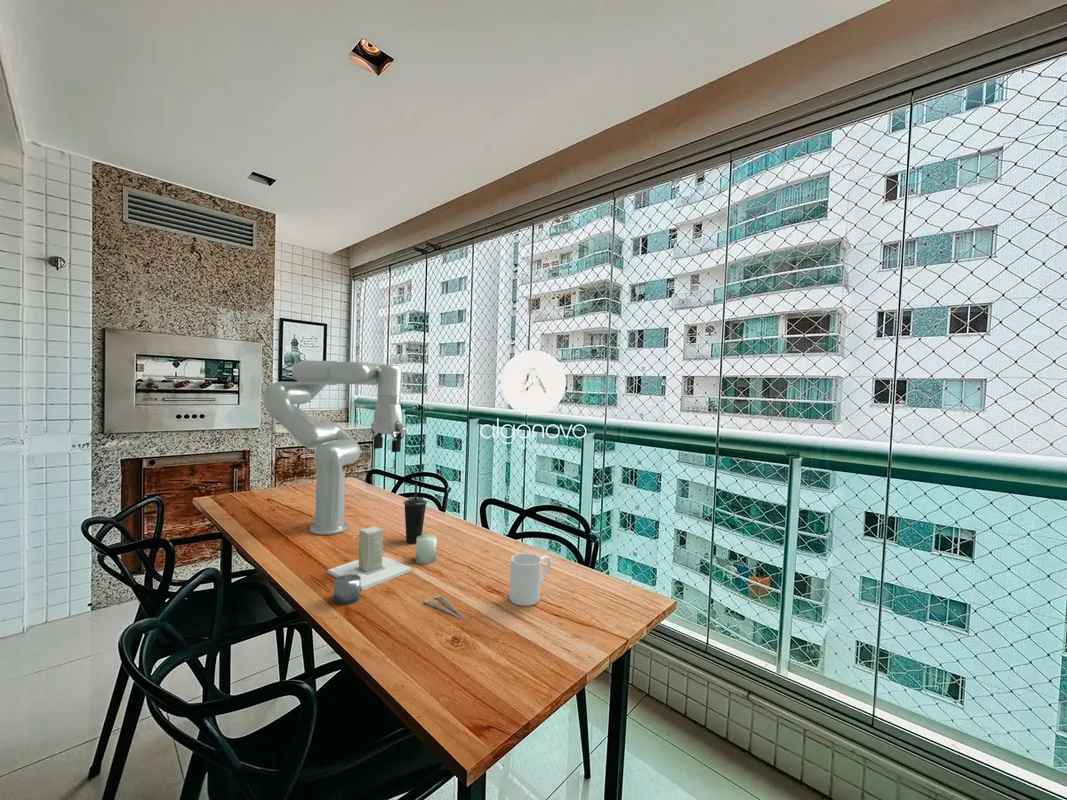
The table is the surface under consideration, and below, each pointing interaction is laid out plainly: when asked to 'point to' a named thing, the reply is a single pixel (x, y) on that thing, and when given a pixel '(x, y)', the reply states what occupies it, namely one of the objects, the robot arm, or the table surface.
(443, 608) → the tweezers
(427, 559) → the pale green capsule
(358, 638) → the table surface
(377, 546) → the box
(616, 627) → the table surface
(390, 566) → the white square plate
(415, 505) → the drinking cup
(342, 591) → the dark tin
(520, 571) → the mug
